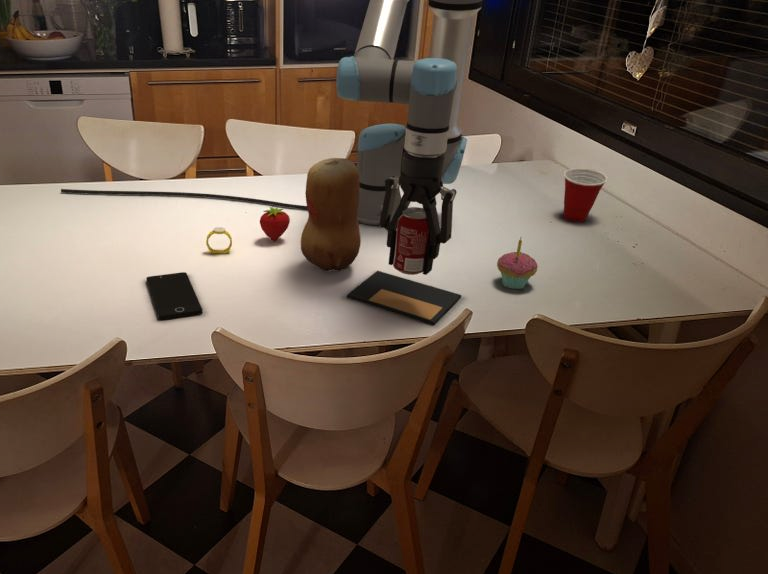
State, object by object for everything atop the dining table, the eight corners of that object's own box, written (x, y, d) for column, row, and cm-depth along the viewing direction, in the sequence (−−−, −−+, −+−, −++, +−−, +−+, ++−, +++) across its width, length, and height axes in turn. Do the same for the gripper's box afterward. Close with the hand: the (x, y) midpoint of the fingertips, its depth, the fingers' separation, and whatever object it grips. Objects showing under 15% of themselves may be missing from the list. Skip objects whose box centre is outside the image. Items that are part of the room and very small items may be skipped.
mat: (346, 297, 145) (346, 294, 144) (377, 273, 155) (377, 270, 154) (433, 325, 136) (434, 321, 135) (460, 298, 145) (461, 294, 145)
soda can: (426, 278, 133) (434, 220, 127) (391, 274, 134) (397, 217, 128) (427, 263, 139) (435, 207, 132) (393, 260, 140) (400, 204, 133)
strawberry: (293, 244, 167) (293, 205, 162) (263, 248, 165) (263, 208, 160) (285, 235, 172) (285, 196, 166) (256, 238, 170) (256, 200, 164)
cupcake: (526, 296, 146) (538, 245, 140) (487, 286, 150) (498, 235, 143) (537, 281, 152) (549, 231, 146) (499, 272, 156) (510, 222, 149)
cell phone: (159, 320, 136) (158, 316, 135) (146, 280, 150) (145, 276, 149) (203, 313, 138) (202, 309, 137) (186, 275, 152) (185, 271, 152)
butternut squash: (291, 261, 159) (293, 154, 145) (342, 252, 164) (349, 147, 150) (316, 286, 149) (321, 174, 135) (370, 276, 153) (380, 166, 139)
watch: (206, 255, 161) (205, 231, 158) (206, 250, 163) (205, 227, 160) (232, 254, 162) (231, 231, 158) (231, 249, 164) (231, 226, 161)
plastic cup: (552, 222, 182) (562, 178, 175) (555, 208, 190) (565, 165, 183) (595, 228, 178) (608, 184, 172) (596, 214, 187) (608, 171, 180)
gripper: (366, 147, 126) (357, 261, 138) (468, 167, 117) (448, 287, 129) (385, 138, 131) (374, 248, 144) (484, 157, 122) (463, 273, 135)
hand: (409, 267), depth 136 cm, fingers closed on soda can, 7 cm apart
